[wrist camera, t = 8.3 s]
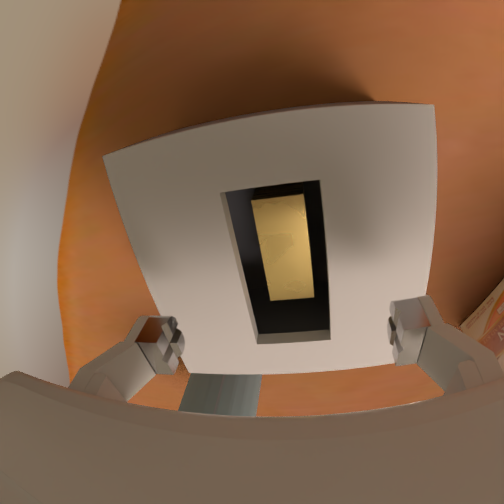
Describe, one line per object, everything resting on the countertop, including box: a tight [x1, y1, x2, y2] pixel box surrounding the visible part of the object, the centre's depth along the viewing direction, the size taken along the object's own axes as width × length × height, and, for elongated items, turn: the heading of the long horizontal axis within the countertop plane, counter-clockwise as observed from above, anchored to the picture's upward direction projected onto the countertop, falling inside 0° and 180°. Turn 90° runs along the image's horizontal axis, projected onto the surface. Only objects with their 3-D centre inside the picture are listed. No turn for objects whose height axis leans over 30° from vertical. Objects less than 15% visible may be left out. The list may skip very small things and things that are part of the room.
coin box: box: [102, 101, 437, 374], centre depth 17 cm, size 14×14×9 cm
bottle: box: [178, 373, 262, 417], centre depth 23 cm, size 7×7×15 cm
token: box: [251, 182, 314, 301], centre depth 18 cm, size 2×6×6 cm, turn 11°
